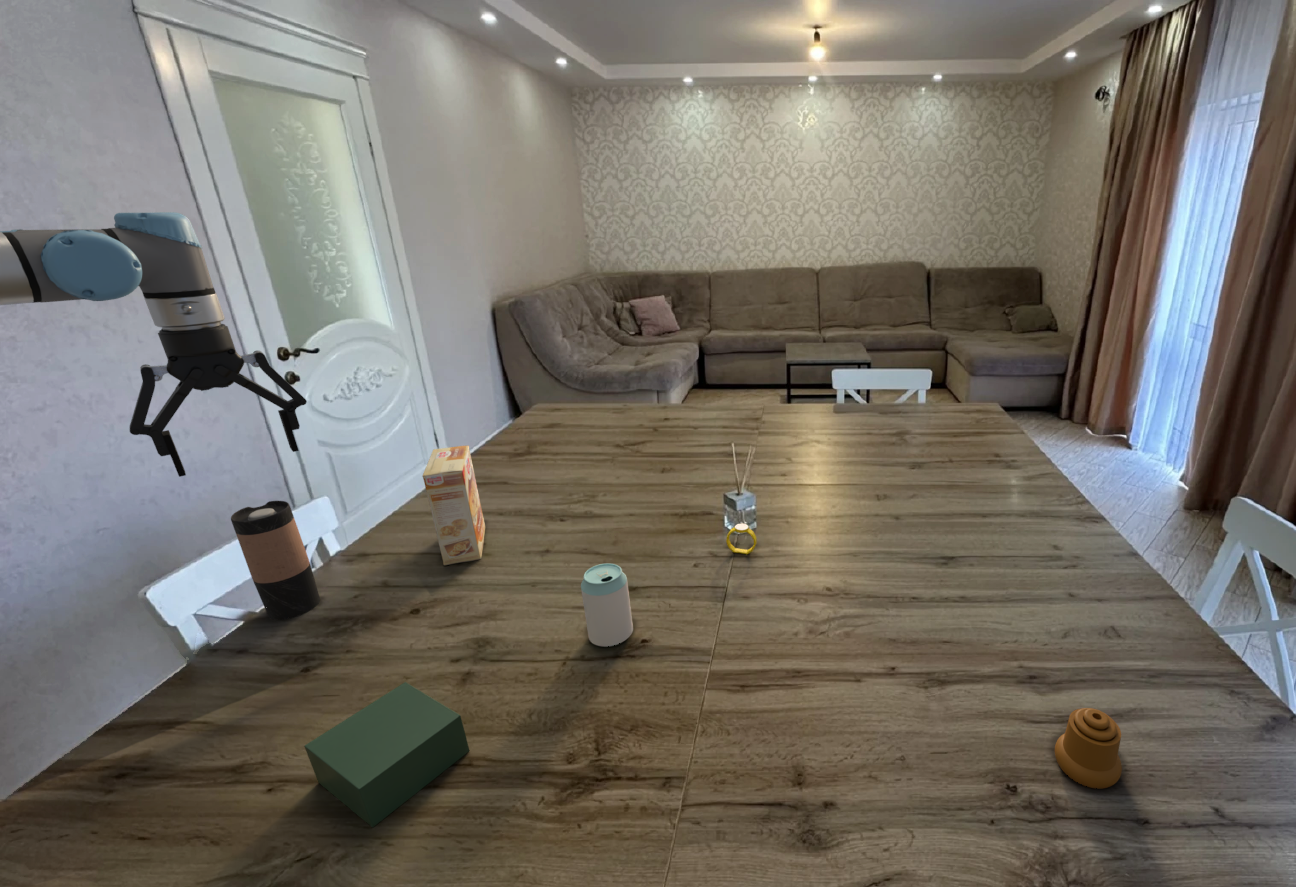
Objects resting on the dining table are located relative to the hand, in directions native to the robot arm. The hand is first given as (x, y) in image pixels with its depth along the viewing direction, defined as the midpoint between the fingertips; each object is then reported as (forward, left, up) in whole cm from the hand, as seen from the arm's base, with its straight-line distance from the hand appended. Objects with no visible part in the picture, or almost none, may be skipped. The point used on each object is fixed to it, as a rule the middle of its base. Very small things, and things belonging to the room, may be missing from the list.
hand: (240, 461), depth 96 cm
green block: (+3, -49, -29) cm, 56 cm away
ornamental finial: (+63, -111, -29) cm, 130 cm away
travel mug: (0, -1, -29) cm, 29 cm away
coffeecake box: (+29, +2, -29) cm, 41 cm away
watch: (+67, -42, -29) cm, 84 cm away
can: (+35, -46, -29) cm, 64 cm away
